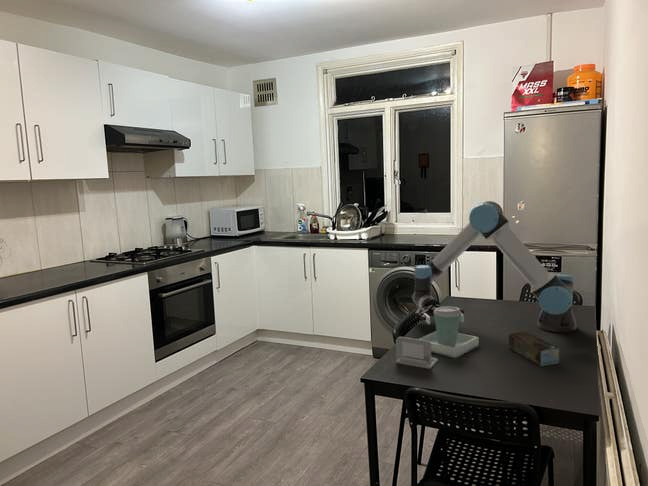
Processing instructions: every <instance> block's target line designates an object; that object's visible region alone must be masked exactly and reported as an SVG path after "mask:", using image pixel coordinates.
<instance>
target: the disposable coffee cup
mask: <svg viewBox="0 0 648 486" xmlns="http://www.w3.org/2000/svg"><path fill="white" fill-rule="evenodd" d="M460 309H461V308H459V307H455V306H452V307H446V306H445V307H439V308H436V309H435V310H434V316H433V317H434V323H435V331H437V339H438V343H439V344H441V345H445V346H449V347H454V346H455V344H456V340H457V334H458V333H459V328H460V322H461V321H460V316H461V315H462V314H461V311H460Z"/></svg>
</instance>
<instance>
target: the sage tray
mask: <svg viewBox="0 0 648 486" xmlns="http://www.w3.org/2000/svg"><path fill="white" fill-rule="evenodd" d="M419 339H420V340H426V341H429V342H430V343H431V353H434V354H437V355H438V354H439V355H442V356H445V357H449V358H453V359H457V358H459V357H461V356H463V355H464V353H465V354H467V353H468V352H470V351H472V350H473V349H475V348H477V347H479V339H480V338H479V336H475V335H469V334H465V333H461V332H458V334H457V340H456V344H455V346H454V347H449V346H445V345H441V344H439V343H438V339H437V331H436V330H435V331H433V332H431V333H428V334H427V335H426V334H425V335H424V336H422V337H420V338H419Z"/></svg>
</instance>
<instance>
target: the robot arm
mask: <svg viewBox="0 0 648 486" xmlns="http://www.w3.org/2000/svg"><path fill="white" fill-rule="evenodd" d="M468 221H469V222H468V224H466V226H465V227H463V229H461V230H460V231H459V233H458V234H457V235H456V236H454V238H453V239H451V240H450V241H449V243H448V244H447V245H446V246H445V247H444V248H443V249H442V250H441V251H440V252H439V253H437V255H436V256H435V257H434V258H433V259H432V260H431V261H430V262H429V263H427V264H426V265H425V264H419V265H416V266H415V267H414V273H413V276H414V292H413V294H412V296H411V297H412V301H413V303H414V305H415V306H416V307H417V310H416V311H415V319H416V320H420V322H423V321H424V322H426V324H427V325H431V317H434V310H435V309H436V308H439V307H453V305H449V304H446V306H444V305H441V303H440V302H439V301H438V300H437V299H436V298H435V297H434V296H432V291H433V290H432V283H433V282H434V281H435V280H437V279H439V277H441V275H442V274H443V273H444V272H445V271H446V269H448V268H449V267H450V266H451V265H453V263H454V262H455V261H456V260H457V259H458V258H459V257H460V256H461V255H462V254H463V253H465V251H466V250H467V249H469V247H470V246H472V245H473V244H474V242H476V241H477V240H478V239H479V238H480V237H481V236H483V238H484V239H485V240H486V241H492V242H493V244H494V245H495V246H496V247H497V248H498V249H499V250H500V251H501V253H502V254H503V255H504V257H506V259H507V260H508V261H509V262H510V263H511V264H512V266H514V268H515V269H516V270H517V271H518V273H519V274H520V275H521V276H522V277H523V279H525V281H527V283H528V284H529V285H530V292H531V294H532V295H533V296H534V297H535V298H536V300H537V301H538V304H539V306H540V308H541V310H540V313H539V316H538V318H537V327H538V328H540V329H541V330H545V331H546V332H547V331H548V332H552V333H553V332H554V333H571V332H574V331H576V330H577V321H576V319H575V315H574V312H573V297H574V296H573V295H574V294H573V293H574V292H573V291H574V289H573V288H574V278H573V276H572V275H569V274H562V273H561V274H560V273H559V274H558V273H557V274H556V273H551V272H549V271H548V270H547V269H546V267H544V265H542V263H541V262H540V261H539V260H538V258H537V257H536V256H535V255H534V254H533V253H532V252H531V251H530V249H529V248H528V247H527V246H526V245H525V243H523V241H522V240H521V239H520V238H519V237H518V236H517V234H515V233H514V231H513V229H512V228H510V220H508V218H506V216H505V215H504V211H503V208H502V207H501V205H500V204H498V203H497V202H495V201H491V200H489V201H488V200H487V201H484V202H480V203H478V204H477V205H475V206H474V207H473V208H472V209H471V211H470V212H469V218H468ZM459 309H460V311H461V314H462V315H461V316H460V322H461V323H464V322H465V310H464V309H462V308H459Z"/></svg>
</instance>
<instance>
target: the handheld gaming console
mask: <svg viewBox="0 0 648 486" xmlns="http://www.w3.org/2000/svg"><path fill="white" fill-rule="evenodd" d="M395 358H396V360H395V363H396V364H399V365H406V366H410V367H417V368H421V369H422V368H423V369H429V370H432V368H433V367H434V366H435V365H436V364H437V363H438V361H439V359H438V358H437V357H432V352H431V343H430V342H429V341H426V340H420V338H411V337H406V336H405V337H404V336H398V337H397V338H396V339H395Z"/></svg>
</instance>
